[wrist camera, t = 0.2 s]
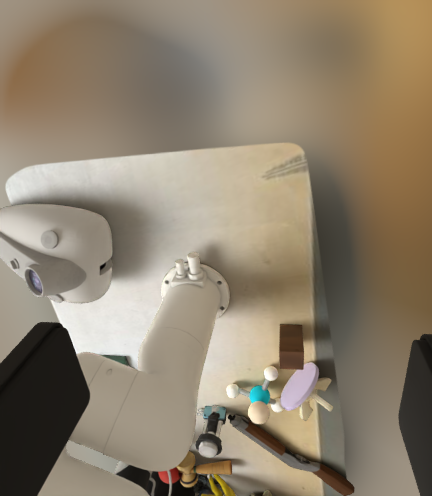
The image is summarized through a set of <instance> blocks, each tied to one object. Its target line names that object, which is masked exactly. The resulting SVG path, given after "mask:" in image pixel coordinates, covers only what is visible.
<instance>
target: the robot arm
mask: <svg viewBox="0 0 432 496" xmlns="http://www.w3.org/2000/svg"><path fill="white" fill-rule="evenodd" d="M187 258H188V263H184V262H183V260H182V259H179V260H176V261H175V263H176V266H175V267H174V268H172V269H171V270H170V271H169V272H168V273H167V274H166V276H165V277H164V279H163V282H162V286H161V294H162V298H163V301H162V303H161V305H160V307H159V309H158V311H157V313H156V315H155V317H154V319H153V322H152V324H151V326H150V328H149V330H148V332H147V334H146V336H145V338H144V340H143V342H142V344H141V346H140V349H139V353H138V370H136V369H134V368H131V367H129V366H126V365H124V364H121V363H119V362H116V361H114V360H111V359H109V358H106V357H103V356H101V355H98V354H95V353H90V352H83V353H79V354H76V352H75V349H74V347H73V344H72V341H71V338H70V336H69V333H68V331H67V329H66V328H64V327H63V326H62V324H60V323H52V322H51V323H50V322H40V323H38V324H37V325H35V326H34V327H33V328H32V330H31V331H30V332H29V333H28V334H27V335H26V336H25V337H24V339H22V341H21V342H20V343H19V344H18V345H17V346H16V347H15V348H14V349H13V350H12V351H11V353H10V354H9V355H8V356H7V357H6V358H5V359H4V360H3V361H2V363H0V496H149V494H148V493H147V492H146V491H145V490H144V489H143V488H142V487H140V486H139V485H137V484H135V483H133V482H131V481H129V480H127V479H125V478H123V477H120V476H118V475H115V474H113V473H110V472H108V471H105V470H103V469H100V468H98V467H95V466H93V465H90V464H88V463H85V462H83V461H81V460H78V459H75V458H73V457H71V456H70V455H69V454H68V452H67V450H66V443H67V441H68V440H71V441H73V442H75V443H78V444H80V445H83V446H85V447H88V448H91V449H93V450H96V451H99V452H101V453H103V454H104V455H106V456H109V457H112V458H114V459H117V460H119V461H122V462H124V463H127V464H129V465H132V466H135V467H138V468H141V469H144V470H149V471H167V470H170V469H173V468H175V467H176V466H178V465H179V464H180V463H181V462H182V461H183V459H184V458H185V457H186V455H187V453H188V451H189V449H190V447H191V444H192V440H193V437H194V432H195V425H196V410H197V397H198V389H199V384H200V379H201V375H202V370H203V366H204V363H205V359H206V355H207V351H208V347H209V343H210V339H211V335H212V331H213V328H214V324H215V320H216V319H217V318H218V317H220V316H221V315H222V314H223V313H224V312H225V311H226V309H227V307H228V304H229V300H230V291H229V287H228V285H227V282H226V281H225V279H224V278H223V277H222V276H221V275H220V274H219V273H218V272H217V271H216V270H214V269H213V268H211V267H209V266H207V265H203V264H200V260H199V254H198V253H196V252H192V253H189V254H188V255H187ZM399 426H400V430H401V433H402V437H403V440H404V443H405V447H406V450H407V453H408V456H409V460H410V463H411V466H412V470H413V473H414V476H415V479H416V483H417V486H418V489H419V492H420V496H432V334H424V335H422V336H421V338H420V340H414V341H413V343H412V347H411V352H410V358H409V362H408V368H407V373H406V378H405V384H404V389H403V394H402V400H401V404H400V410H399Z"/></svg>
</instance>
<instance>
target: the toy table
mask: <svg viewBox="0 0 432 496" xmlns="http://www.w3.org/2000/svg"><path fill="white" fill-rule="evenodd" d="M318 376H319V369H318V367H317V366H316V365H315V364H314V363H312V362H309V363H306V364H304V369H303V370H297V371H295V373H294V374H293V375H292V376H291V377H290V379H289V380H288V382H287V383H286V385H285V387H284V389H283V391H282V394H281V399H280V402H281V406H282V407H283V408H284V409H286V410H293V409H295V408H297V407H298V406H300V417H301V418H302V419H303V420H304V421H307V419H308V418H309V416H310V414H311V413H312V411H313V409H312V408H311V407H310V404H309V400H312V399H314V400H316V401H317V402H318V403H319V404H321V405H322V406H323V407H325V408H326V409H328V410H329V411H331V410H332V409H333V407H332V406H331V405H330V404H329V403H327V402H326V401H325V400H323V399H322V398H321V397H319V396H318V395H317V394H316V390H319V389H320V390H323V391H325V390H326V389H327V387H328V386H329V384H330V383H331V379H329V378H327V377H323V378H320V379H318Z"/></svg>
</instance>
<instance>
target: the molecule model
mask: <svg viewBox="0 0 432 496" xmlns="http://www.w3.org/2000/svg"><path fill="white" fill-rule="evenodd" d="M264 376H265V378H266V379H265V381H264V383H263V386H260V385H258V386H255V387H253V388H252V390H251V391H250V392H248V391H246V390H244V389H241V388H239V387H238V386H237V385H236V384H230V385H229V386H228V387H227V395H228V396H229V397H231V398H236V397H237V396H238V395H239V393H240V394H242V395H245V396H247V397H249V398H250V400H251V402H252V404H251V405H250V407H249V410H248V414H249V418H250V419H251V421H252V422H254V423H256V424H263V423H265V422H266V421H267V420H268V418H269V414H270V412H269V408H268V406H267V404H268V403H269V404H271V407H272V409H273V410H274V411H275V412H281V411H283V409H284V408H283V407H282V406H281V402H280V398H275V399H271V398H270V394H269V391H268V390H267V387H268V385H269V383H270V381H273V380H275V379H276V378H277V377H278V371H277V369H276V368H275V367H273V366H268V367H267V368H266V369H265V370H264Z"/></svg>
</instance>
